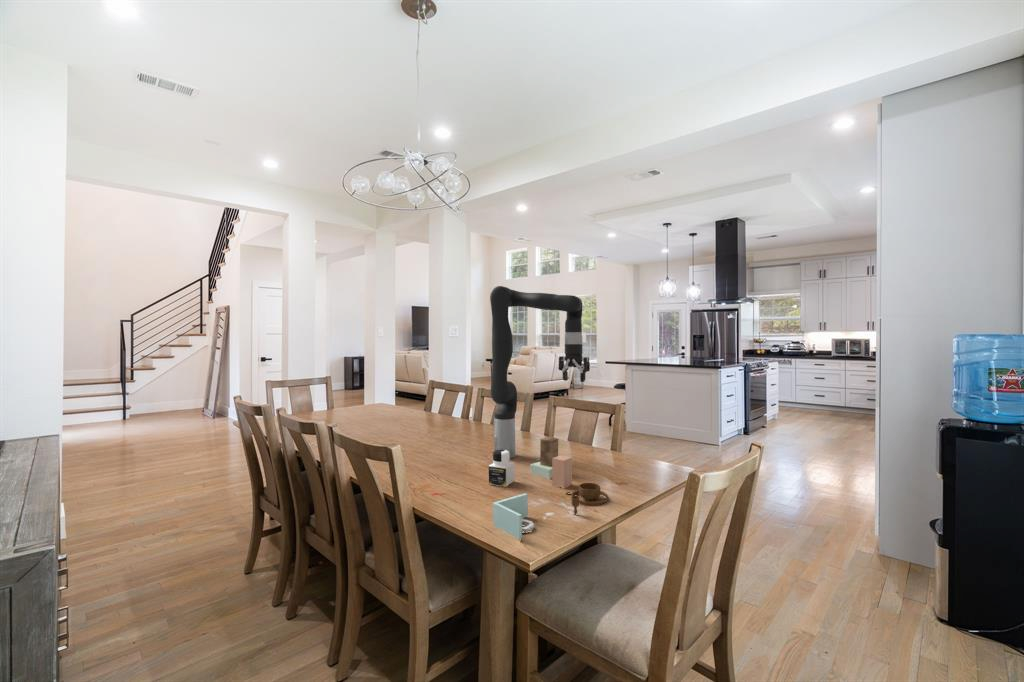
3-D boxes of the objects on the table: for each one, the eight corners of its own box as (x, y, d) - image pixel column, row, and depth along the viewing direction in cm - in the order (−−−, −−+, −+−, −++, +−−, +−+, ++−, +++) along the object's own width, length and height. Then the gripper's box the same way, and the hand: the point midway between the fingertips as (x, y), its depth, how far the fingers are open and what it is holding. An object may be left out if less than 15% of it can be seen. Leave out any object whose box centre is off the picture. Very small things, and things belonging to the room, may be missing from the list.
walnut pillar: (540, 464, 181) (540, 439, 181) (547, 461, 185) (547, 436, 185) (551, 467, 178) (551, 441, 178) (558, 463, 182) (558, 438, 182)
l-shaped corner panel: (519, 543, 124) (519, 515, 124) (493, 528, 133) (492, 502, 133) (552, 531, 131) (552, 504, 131) (525, 517, 141) (525, 493, 140)
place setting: (622, 504, 150) (622, 486, 150) (576, 519, 139) (576, 500, 138) (585, 489, 164) (585, 473, 164) (540, 502, 153) (540, 484, 153)
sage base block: (530, 474, 182) (530, 464, 182) (548, 469, 189) (547, 459, 189) (549, 480, 175) (548, 469, 175) (566, 474, 182) (566, 464, 181)
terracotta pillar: (552, 485, 167) (552, 458, 167) (560, 482, 171) (560, 455, 171) (563, 488, 164) (563, 460, 164) (572, 485, 168) (571, 457, 168)
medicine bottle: (488, 484, 169) (487, 452, 169) (497, 479, 176) (496, 447, 176) (506, 487, 166) (505, 454, 166) (514, 481, 173) (514, 449, 172)
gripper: (554, 343, 199) (555, 381, 199) (583, 343, 190) (583, 383, 190) (564, 342, 205) (565, 379, 205) (592, 342, 195) (593, 381, 196)
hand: (573, 381), depth 198 cm, fingers open, 8 cm apart
